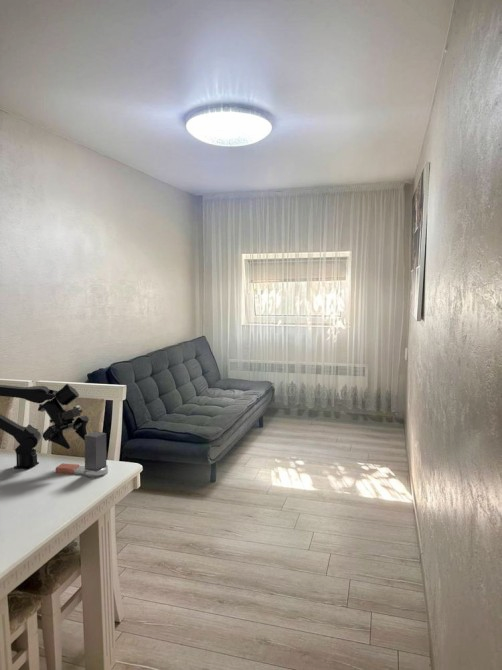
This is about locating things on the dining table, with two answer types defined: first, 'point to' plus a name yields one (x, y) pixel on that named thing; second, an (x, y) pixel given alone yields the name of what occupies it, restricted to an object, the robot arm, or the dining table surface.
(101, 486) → the dining table surface
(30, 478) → the dining table surface
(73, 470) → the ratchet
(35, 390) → the robot arm
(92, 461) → the tall grey pillar
